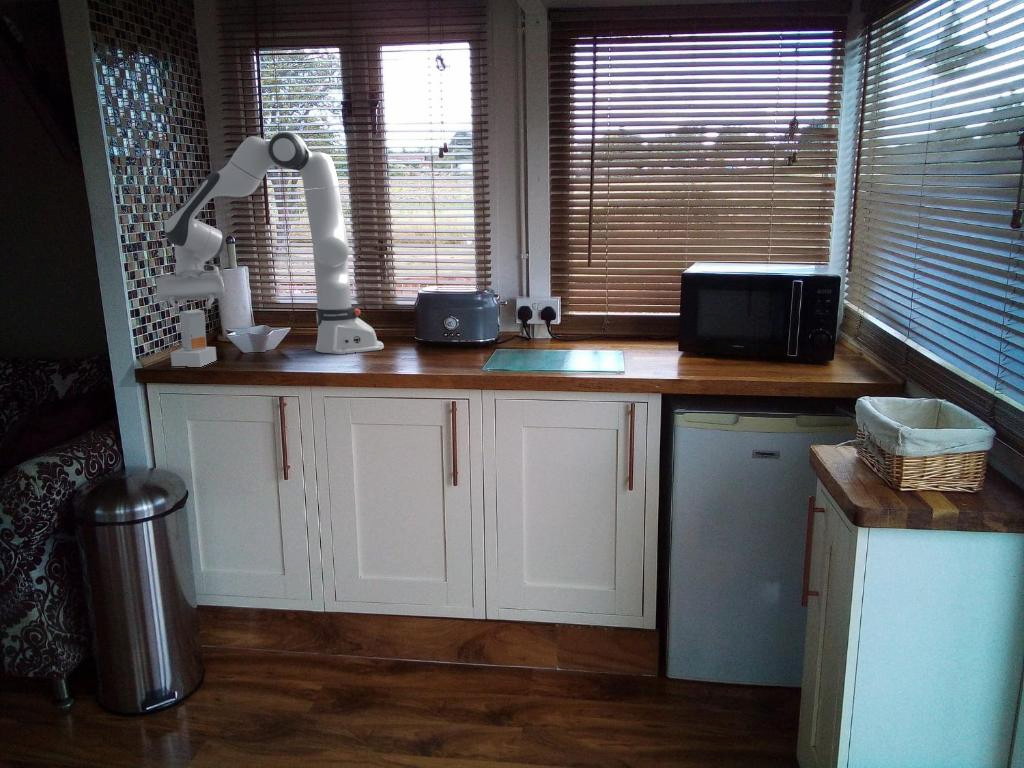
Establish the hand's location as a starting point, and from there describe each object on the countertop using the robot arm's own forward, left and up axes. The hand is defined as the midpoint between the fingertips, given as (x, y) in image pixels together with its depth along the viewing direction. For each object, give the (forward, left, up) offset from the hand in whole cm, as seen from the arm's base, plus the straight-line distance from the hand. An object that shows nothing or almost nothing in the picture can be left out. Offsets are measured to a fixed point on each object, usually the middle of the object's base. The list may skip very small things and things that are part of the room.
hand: (192, 308), depth 259 cm
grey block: (+1, +4, -17) cm, 18 cm away
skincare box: (0, +3, -12) cm, 13 cm away
